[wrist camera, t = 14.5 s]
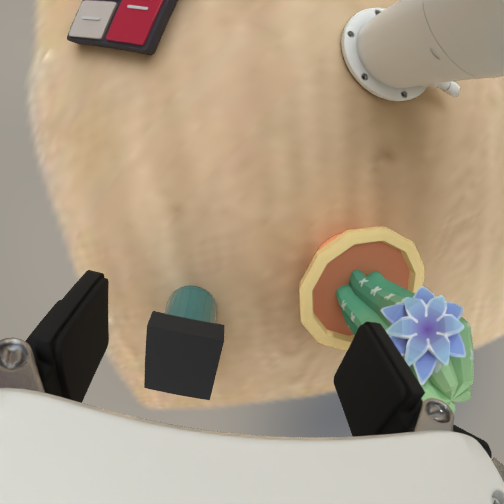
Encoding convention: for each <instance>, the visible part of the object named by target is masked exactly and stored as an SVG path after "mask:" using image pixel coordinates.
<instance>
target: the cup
mask: <svg viewBox="0 0 504 504" xmlns="http://www.w3.org/2000/svg"><path fill="white" fill-rule="evenodd" d="M164 313H165V314H169V315H174V316H179V317H184V318H189V319H194V320H199V321H205V322H210V323H216V315H217V306H216V302H215V300H214V298H213V297H212V295H211V294H210V293H209V292H207V291H206V290H204V289H202V288H200V287H196V286H185V287H181V288H179V289H177V290H176V291H174V292H173V293H172V295H171V296H170V298H169V301H168V303H167V306H166V309H165V312H164Z"/></svg>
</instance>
